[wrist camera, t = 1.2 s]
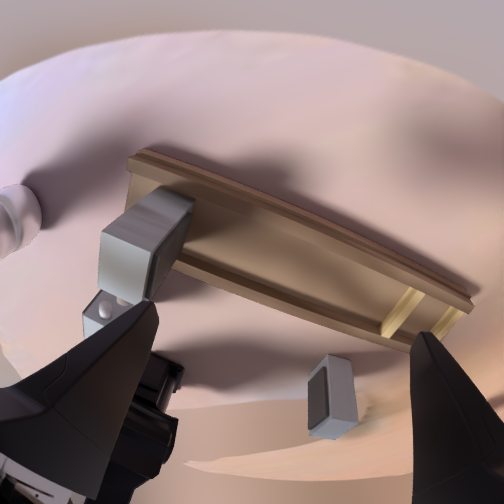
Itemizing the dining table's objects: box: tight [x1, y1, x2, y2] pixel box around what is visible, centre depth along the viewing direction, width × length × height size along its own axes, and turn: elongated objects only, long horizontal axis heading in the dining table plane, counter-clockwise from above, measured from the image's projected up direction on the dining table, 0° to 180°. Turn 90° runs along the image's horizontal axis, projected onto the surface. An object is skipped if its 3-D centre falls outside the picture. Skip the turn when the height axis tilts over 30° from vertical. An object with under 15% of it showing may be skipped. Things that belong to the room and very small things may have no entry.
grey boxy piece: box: [308, 354, 359, 440], centre depth 27 cm, size 3×5×8 cm, turn 159°
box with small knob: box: [82, 289, 149, 339], centre depth 23 cm, size 3×5×8 cm, turn 159°
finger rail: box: [97, 148, 475, 354], centre depth 20 cm, size 8×32×9 cm, turn 69°
